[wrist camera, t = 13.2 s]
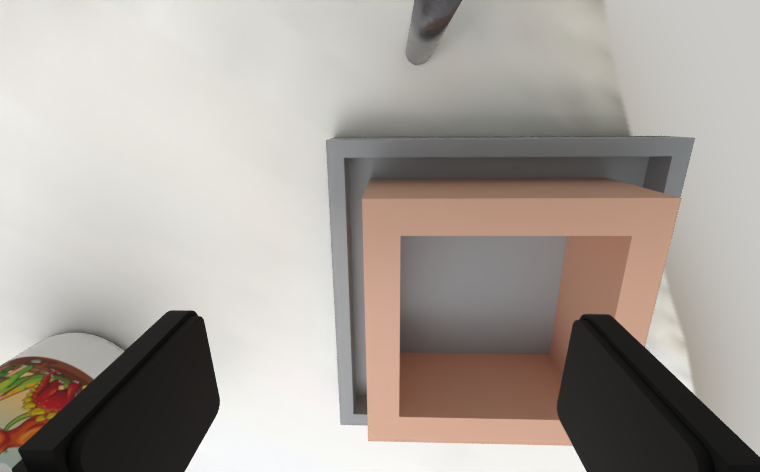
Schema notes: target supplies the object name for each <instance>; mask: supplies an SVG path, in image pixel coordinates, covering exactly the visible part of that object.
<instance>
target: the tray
mask: <svg viewBox="0 0 760 472" xmlns="http://www.w3.org/2000/svg"><path fill="white" fill-rule="evenodd" d="M694 140H695V138H686V137H670V136H596V137H438V138H332V139H328V140H326V148H327V168H328V187H329V207H330V226H331V246H332V266H333V285H334V305H335V324H336V344H337V363H338V383H339V402H340V422H341V425H368V415H367V376H366V337H365V298H364V259H363V220H362V197H363V195H364V192H365V190H366V187H367V185H368V182H369V180H370V179H457V178H609V179H613V180H617V181H620V182H624V183H628V184H631V185H635V186H639V187H643V188H646V189H650V190H654V191H657V192H661V193H665V194H669V195H672V196H676V197H680V196H681V193H682V188H683V184H684V180H685V176H686V172H687V168H688V164H689V160H690V156H691V152H692V148H693V144H694ZM566 243H567V236H400V353H470V354H548V355H549V353H550V346H551V340H552V333H553V327H554V320H555V314H556V307H557V301H558V294H559V288H560V281H561V275H562V269H563V262H564V256H565V249H566Z"/></svg>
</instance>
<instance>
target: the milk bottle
mask: <svg viewBox="0 0 760 472" xmlns="http://www.w3.org/2000/svg"><path fill="white" fill-rule="evenodd" d="M123 352H124V350H123V349H121V348H119V347H118V346H117V345H115V344H114V343H112V342H110V341H108V340H106V339H104V338H101V337H98V336H95V335H92V334H86V333H80V332H79V333H65V334H59V335H54V336H51V337H48V338H46V339H44V340H42V341H40V342H39V343H37V344H35V345H34V346H32V347H30V348H28V349H27V350H25V351H23V352H22V353H20V354H19V355H17V356H15V357H14V358H12V359H11V360H9V361H7V362H6V363H4V364H3V365H1V366H0V463H5V464H7V465H8V466H9V467H11V468H13V467H14V466H15V465H16V464H17V463H18V462H19V461H20V460H21V459H22V458H21V456H20V454H19V452H18V449H19V448H20V447H21V446H22V445H23V444H24V443H25V442H26V441H28V440H29V439H30V438H31V437H32V436H33V435H34V434H35V433H36V432H37V431H38V430H40V429H41V428H42V427H43V426H44V425H45V424H46V423H47V422H48V421H49V420H50V419H51V418H53V417H54V416H55V415H56V414H57V413H58V412H59V411H60V410H61V409H62V408H63V407H65V406H66V405H67V404H68V403H69V402H70V401H71V400H72V399H73V398H74V397H75V396H76V395H78V394H79V393H80V392H81V391H82V390H83V389H84V388H85V387H86V386H87V385H88V384H90V383H91V382H92V381H93V380H94V379H95V378H96V377H97V376H98V375H99V374H100V373H101V372H103V371H104V370H105V369H106V368H107V367H108V366H109V365H110V364H111V363H112V362H113V361H115V360H116V359H117V358H118V357H119V356H120V355H121V354H122V353H123Z"/></svg>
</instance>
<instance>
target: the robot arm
mask: <svg viewBox="0 0 760 472" xmlns="http://www.w3.org/2000/svg"><path fill="white" fill-rule="evenodd" d="M219 405H220V398H219V393H218V388H217V383H216V378H215V373H214V368H213V363H212V358H211V353H210V348H209V343H208V338H207V333H206V328H205V323H204V320H203V318H202V317H200V316H198V315H197V313H196V312H195V311H168V312H167V313H166V314H165V315H163V316H162V317H161V318H160V319H159V320H158V321H157V322H156V323H155V324H154V325H153V326H151V327H150V328H149V329H148V330H147V331H146V332H145V333H144V334H143V335H142V336H141V337H140V338H138V339H137V340H136V341H135V342H134V343H133V344H132V345H131V346H130V347H129V348H128V349H126V350H125V351H124V352H123V353H122V354H121V355H120V356H119V357H118V358H117V359H116V360H115V361H113V362H112V363H111V364H110V365H109V366H108V367H107V368H106V369H105V370H104V371H103V372H101V373H100V374H99V375H98V376H97V377H96V378H95V379H94V380H93V381H92V382H91V383H90V384H88V385H87V386H86V387H85V388H84V389H83V390H82V391H81V392H80V393H79V394H78V395H76V396H75V397H74V398H73V399H72V400H71V401H70V402H69V403H68V404H67V405H66V406H65V407H63V408H62V409H61V410H60V411H59V412H58V413H57V414H56V415H55V416H54V417H53V418H51V419H50V420H49V421H48V422H47V423H46V424H45V425H44V426H43V427H42V428H41V429H40V430H38V431H37V432H36V433H35V434H34V435H33V436H32V437H31V438H30V439H29V440H28V441H26V442H25V443H24V444H23V445H22V446H21V447H20V448H19V449H18V452H19V454H20V456H21V458H22V459H21V460H20V461H19V462H18V463H17V464H16V465H15V466H14V467H13V468H11V467H9V466H8V465H7V464H5V463H0V472H185V470H186V468H187V466H188V465H189V463H190V461H191V459H192V457H193V456H194V454H195V452H196V450H197V449H198V447H199V445H200V443H201V442H202V440H203V438H204V436H205V434H206V433H207V431H208V429H209V427H210V426H211V424H212V422H213V420H214V419H215V417H216V415H217V413H218V410H219ZM557 414H558V418H559V420H560V422H561V424H562V426H563V428H564V430H565V432H566V433H567V435H568V437H569V439H570V441H571V443H572V445H573V447H574V448H575V450H576V452H577V454H578V456H579V458H580V460H581V462H582V464H583V465H584V467H585V469H586V471H587V472H760V457H759V456H758V455H757V454H756V453H755V452H754V451H753V450H752V449H751V448H749V447H748V446H747V445H746V444H745V443H744V442H743V441H742V440H741V439H740V438H739V437H738V436H737V435H736V434H735V433H734V432H733V431H732V430H731V429H730V428H729V427H728V426H726V425H725V424H724V423H723V422H722V421H721V420H720V419H719V418H718V417H717V416H716V415H715V414H714V413H713V412H712V411H711V410H710V409H709V408H707V406H706V405H705V404H703V403H702V402H701V401H700V400H699V399H698V398H697V397H696V396H695V395H694V394H693V393H692V392H691V391H690V390H689V389H688V388H687V387H686V386H685V385H684V384H683V383H681V382H680V381H679V380H678V379H677V378H676V377H675V376H674V375H673V374H672V373H671V372H670V371H669V370H668V369H667V368H666V367H665V366H664V365H663V364H662V363H661V362H659V361H658V360H657V359H656V358H655V357H654V356H653V355H652V354H651V353H650V352H649V351H648V350H647V349H646V348H645V347H644V346H643V345H642V344H641V343H640V342H639V341H638V340H636V339H635V338H634V337H633V336H632V335H631V334H630V333H629V332H628V331H627V330H626V329H625V328H624V327H623V326H622V325H621V324H620V323H619V322H618V321H617V320H616V319H614V318H613V317H612V316H611V315H609V314H583V315H582V316H581V317H580V319H579V320H575V321H574V323H573V325H572V330H571V335H570V340H569V345H568V350H567V355H566V361H565V366H564V371H563V376H562V381H561V386H560V391H559V396H558V401H557Z"/></svg>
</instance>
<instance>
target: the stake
mask: <svg viewBox="0 0 760 472" xmlns="http://www.w3.org/2000/svg"><path fill="white" fill-rule="evenodd" d="M461 1H462V0H415V1H414V7H413V12H412V18H411V24H410V29H409V35H408V41H407V46H406V56H407V58H408V60H409V61H410V62H411V63H413V64H415V65H421V64H423V63H425V62H426V61H427V60H428V59H429V57H430V55H431V54H432V52H433V50H434V48H435V47H436V45H437V43H438V41H439V40H440V38H441V36H442V34H443V33H444V31H445V29H446V27H447V26H448V24H449V22H450V20H451V19H452V17H453V15H454V13H455V12H456V10H457V8H458V6H459V5H460V3H461Z"/></svg>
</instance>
